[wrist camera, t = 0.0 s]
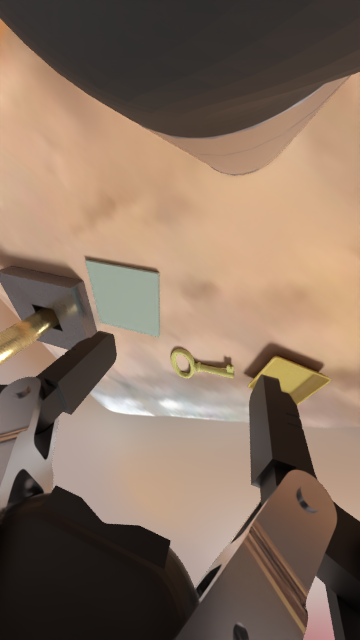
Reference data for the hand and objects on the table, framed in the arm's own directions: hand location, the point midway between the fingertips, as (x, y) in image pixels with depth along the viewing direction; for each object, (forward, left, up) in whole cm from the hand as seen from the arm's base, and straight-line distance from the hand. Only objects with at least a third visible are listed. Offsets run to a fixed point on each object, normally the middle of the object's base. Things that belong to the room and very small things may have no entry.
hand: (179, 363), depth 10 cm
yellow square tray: (+17, +14, -18) cm, 28 cm away
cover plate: (+15, -30, -17) cm, 38 cm away
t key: (+15, -30, -17) cm, 38 cm away
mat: (+9, -14, -17) cm, 24 cm away
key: (+20, 0, -18) cm, 27 cm away
